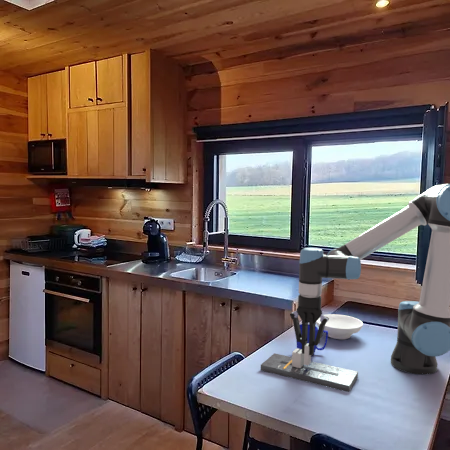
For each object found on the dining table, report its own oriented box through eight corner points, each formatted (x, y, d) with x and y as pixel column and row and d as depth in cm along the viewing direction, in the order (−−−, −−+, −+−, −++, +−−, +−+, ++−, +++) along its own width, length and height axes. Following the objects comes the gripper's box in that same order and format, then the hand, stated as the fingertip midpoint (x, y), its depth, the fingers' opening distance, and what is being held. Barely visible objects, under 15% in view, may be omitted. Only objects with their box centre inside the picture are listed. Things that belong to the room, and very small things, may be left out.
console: (357, 377, 142) (358, 371, 142) (349, 392, 131) (349, 385, 131) (274, 358, 157) (274, 352, 156) (260, 370, 146) (260, 364, 146)
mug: (327, 359, 157) (328, 332, 156) (294, 356, 159) (295, 329, 158) (327, 350, 165) (327, 325, 164) (295, 348, 167) (296, 323, 166)
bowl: (355, 348, 167) (356, 331, 167) (308, 339, 178) (308, 323, 177) (367, 334, 184) (368, 319, 183) (323, 326, 194) (324, 311, 194)
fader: (304, 364, 147) (304, 349, 146) (300, 368, 143) (300, 353, 143) (296, 362, 148) (296, 347, 148) (291, 366, 145) (292, 351, 144)
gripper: (332, 295, 142) (329, 363, 144) (295, 289, 148) (292, 355, 150) (326, 300, 135) (323, 371, 137) (287, 294, 142) (285, 363, 144)
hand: (307, 363), depth 144 cm, fingers closed
